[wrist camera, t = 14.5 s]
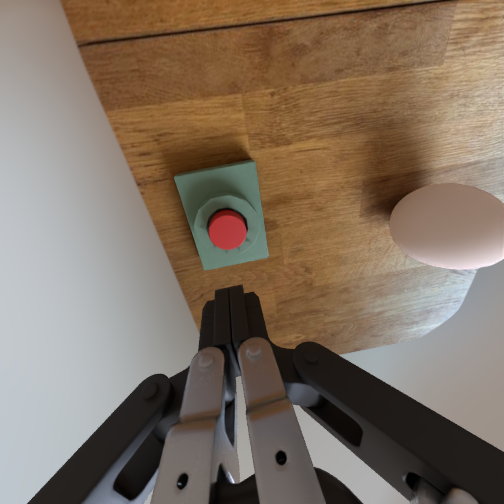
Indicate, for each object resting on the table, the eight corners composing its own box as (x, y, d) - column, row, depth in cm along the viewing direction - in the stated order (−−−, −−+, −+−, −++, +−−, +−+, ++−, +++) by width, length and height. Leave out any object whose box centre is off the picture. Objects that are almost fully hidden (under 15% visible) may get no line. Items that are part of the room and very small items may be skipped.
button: (214, 245, 23) (214, 253, 21) (205, 213, 21) (204, 219, 19) (247, 238, 23) (249, 246, 21) (241, 206, 21) (242, 211, 19)
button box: (205, 261, 27) (203, 279, 24) (177, 173, 22) (169, 179, 19) (265, 249, 28) (272, 265, 24) (252, 159, 22) (258, 163, 19)
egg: (358, 222, 28) (436, 270, 18) (409, 161, 25) (538, 177, 15) (398, 250, 31) (484, 304, 21) (448, 198, 28) (576, 232, 18)
